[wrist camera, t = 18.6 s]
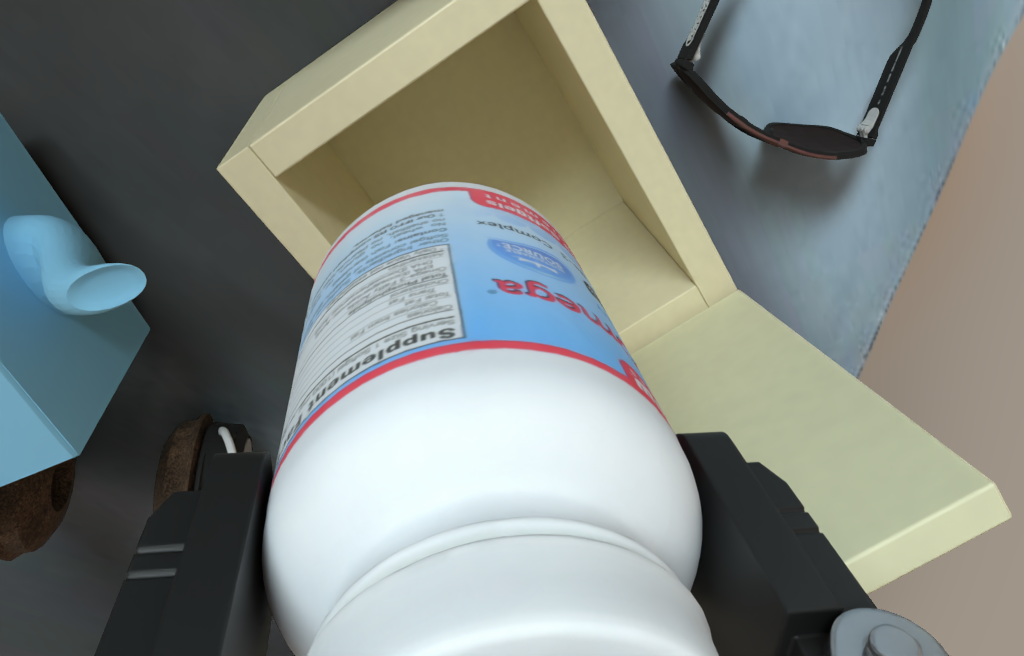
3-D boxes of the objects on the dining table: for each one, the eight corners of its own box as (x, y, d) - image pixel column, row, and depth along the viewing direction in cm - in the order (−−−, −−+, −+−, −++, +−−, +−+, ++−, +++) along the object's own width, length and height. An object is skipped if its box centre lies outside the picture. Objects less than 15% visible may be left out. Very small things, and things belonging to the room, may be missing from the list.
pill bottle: (619, 327, 18) (891, 788, 9) (412, 451, 19) (445, 1002, 9) (489, 115, 16) (674, 446, 6) (251, 271, 16) (58, 797, 7)
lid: (427, 788, 16) (554, 933, 17) (996, 482, 14) (1093, 669, 15) (463, 455, 30) (529, 544, 32) (739, 288, 29) (797, 389, 30)
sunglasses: (638, 97, 36) (679, 106, 32) (743, -172, 33) (807, -205, 28) (813, 167, 39) (874, 185, 35) (926, -72, 36) (1010, -87, 32)
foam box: (263, 96, 34) (215, 169, 24) (498, -73, 32) (549, -70, 22) (447, 327, 41) (468, 456, 31) (649, 198, 39) (739, 292, 29)
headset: (-42, 489, 41) (-356, 910, 24) (-68, 367, 38) (-457, 754, 20) (285, 498, 45) (222, 869, 27) (289, 387, 41) (221, 731, 24)
